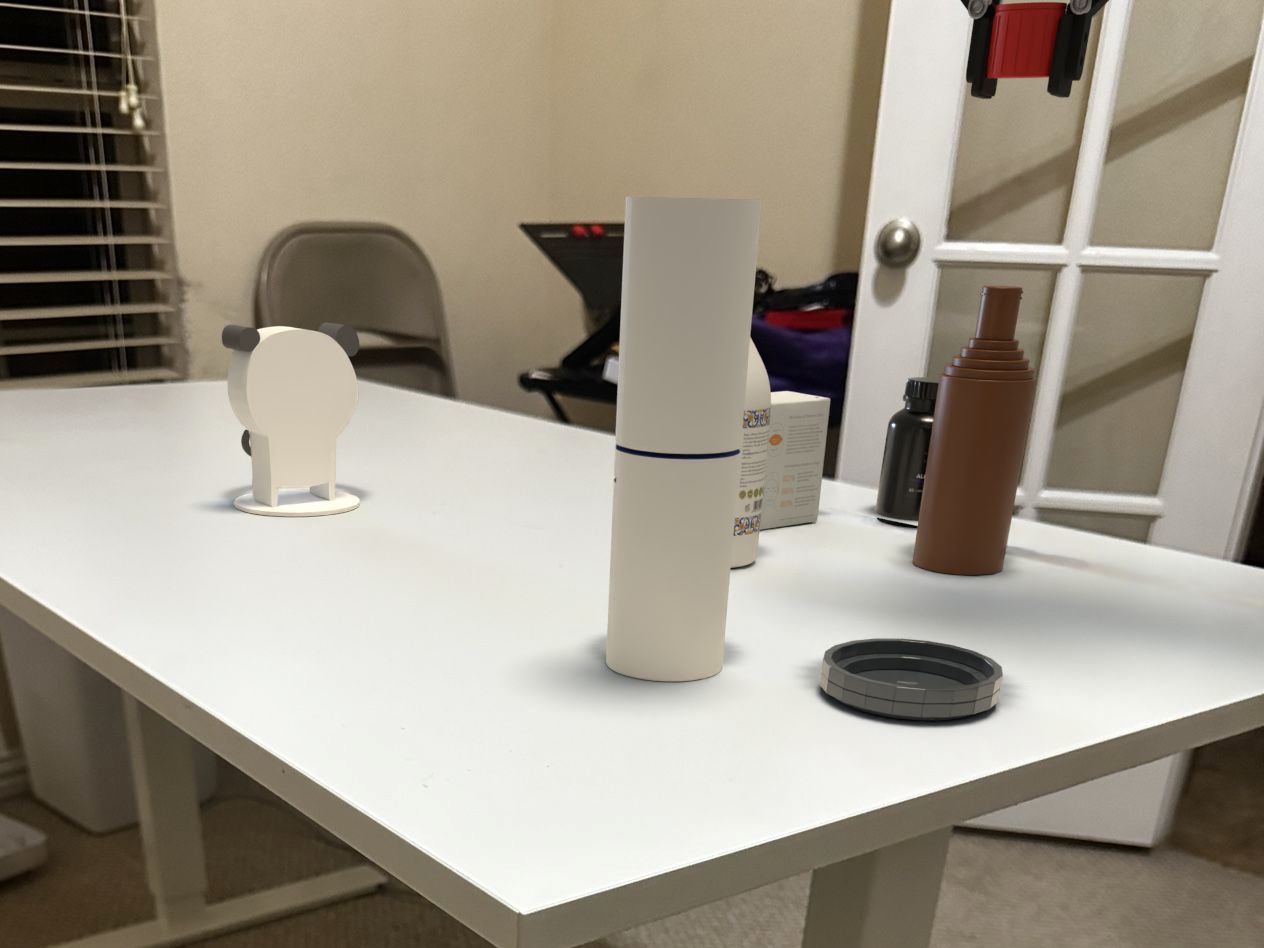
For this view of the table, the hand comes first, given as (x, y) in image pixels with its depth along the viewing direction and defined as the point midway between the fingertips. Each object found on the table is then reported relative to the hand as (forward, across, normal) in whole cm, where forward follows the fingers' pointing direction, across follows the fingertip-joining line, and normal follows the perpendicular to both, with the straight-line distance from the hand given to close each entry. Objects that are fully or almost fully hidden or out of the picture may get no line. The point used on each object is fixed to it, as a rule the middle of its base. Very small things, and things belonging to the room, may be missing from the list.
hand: (1020, 92), depth 85 cm
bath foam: (+31, -19, +1) cm, 37 cm away
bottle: (+31, -2, +11) cm, 33 cm away
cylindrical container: (+31, -9, -27) cm, 42 cm away
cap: (-1, 0, 0) cm, 1 cm away
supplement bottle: (+31, -10, +25) cm, 42 cm away
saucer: (+31, +6, -24) cm, 40 cm away
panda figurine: (+31, -60, -1) cm, 67 cm away
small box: (+31, -22, +18) cm, 42 cm away
